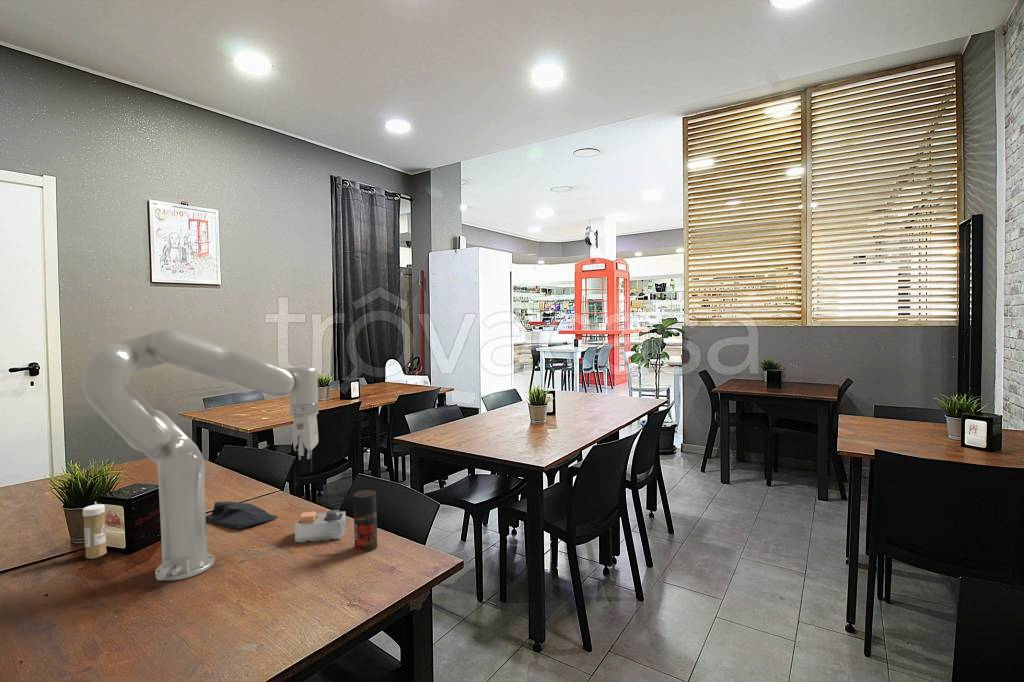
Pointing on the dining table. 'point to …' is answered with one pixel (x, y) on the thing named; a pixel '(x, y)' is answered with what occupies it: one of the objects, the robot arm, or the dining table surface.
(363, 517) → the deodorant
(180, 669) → the dining table surface
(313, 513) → the button square
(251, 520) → the dark slate chunk
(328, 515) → the knob round
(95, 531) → the sprinkles bottle
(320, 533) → the mount
